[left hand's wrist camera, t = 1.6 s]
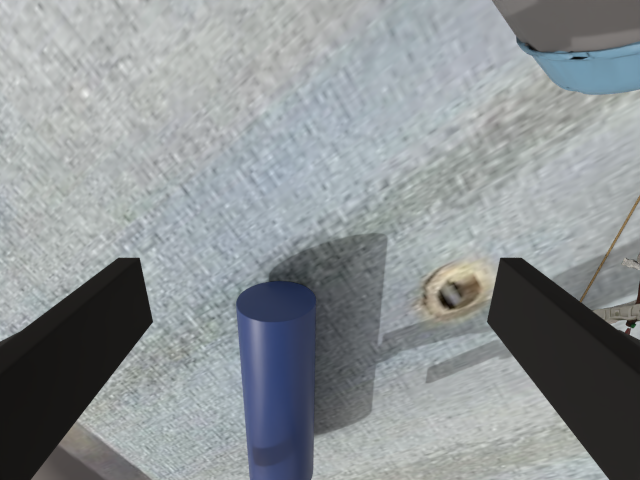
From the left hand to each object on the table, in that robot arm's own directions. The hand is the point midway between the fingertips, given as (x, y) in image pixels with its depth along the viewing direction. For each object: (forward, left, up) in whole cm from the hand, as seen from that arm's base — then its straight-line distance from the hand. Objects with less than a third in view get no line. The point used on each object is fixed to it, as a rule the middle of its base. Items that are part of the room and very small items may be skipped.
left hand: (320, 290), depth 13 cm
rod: (+27, +3, -27) cm, 38 cm away
